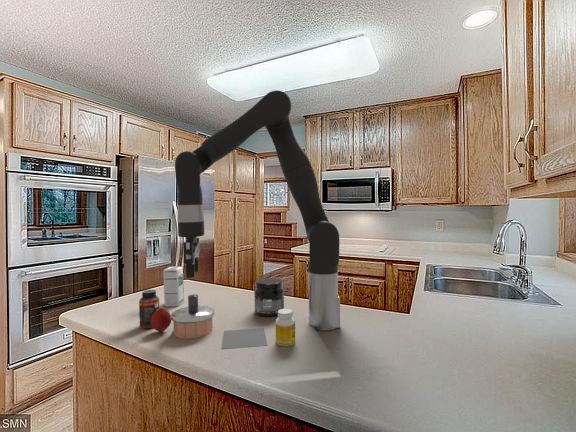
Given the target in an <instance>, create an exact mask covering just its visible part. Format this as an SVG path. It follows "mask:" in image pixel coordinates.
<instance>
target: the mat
mask: <svg viewBox="0 0 576 432" xmlns="http://www.w3.org/2000/svg"><path fill="white" fill-rule="evenodd" d="M267 341H268V339H267V336H266V332H265V328H264V327H257V328H243V329H232V330H223V335H222V343H221V350H230V349H231V350H232V349H242V348H244V349H245V348H254V347H255V348H256V347H266V346H268V342H267Z"/></svg>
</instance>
